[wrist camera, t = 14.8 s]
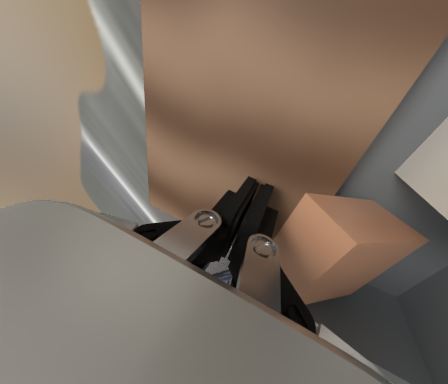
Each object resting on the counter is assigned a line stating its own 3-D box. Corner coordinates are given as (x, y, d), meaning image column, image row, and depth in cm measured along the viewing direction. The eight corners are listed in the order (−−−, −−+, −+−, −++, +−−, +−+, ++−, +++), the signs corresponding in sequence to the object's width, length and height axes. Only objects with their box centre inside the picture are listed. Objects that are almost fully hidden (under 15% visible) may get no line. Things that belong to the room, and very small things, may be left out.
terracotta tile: (305, 192, 8) (357, 244, 6) (372, 200, 10) (429, 240, 8) (260, 258, 11) (283, 309, 9) (319, 254, 13) (350, 294, 11)
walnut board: (174, -102, 8) (133, -162, 6) (508, -101, 6) (621, -212, 4) (166, 192, 18) (149, 204, 16) (284, 247, 16) (281, 270, 14)
